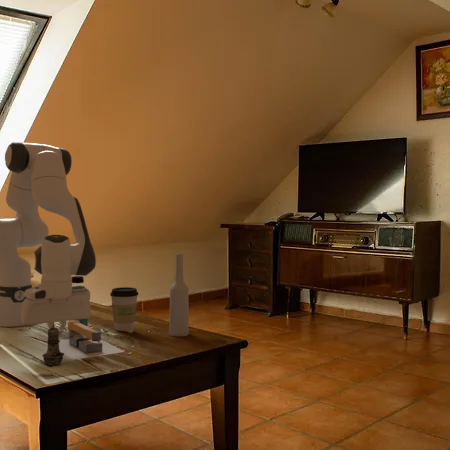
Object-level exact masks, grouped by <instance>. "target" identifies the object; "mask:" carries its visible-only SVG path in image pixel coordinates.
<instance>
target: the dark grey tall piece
mask: <svg viewBox="0 0 450 450" xmlns="http://www.w3.org/2000/svg"><path fill="white" fill-rule="evenodd" d="M58 329H59V328H57V327H55V324H54V325H52V328H48V330H47V340H46V342H47V343H46V344H47V351H46V352H45V353H43V354H42V355H41V357H42V358H43V362H44V363H45V364H47V365H49V366H57V365H58V364H61V363H62V361H63V359H64V356H65V354H64V353H62V352H60V350H59V342H60V340H61V339H60V336H59V330H58Z"/></svg>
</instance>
